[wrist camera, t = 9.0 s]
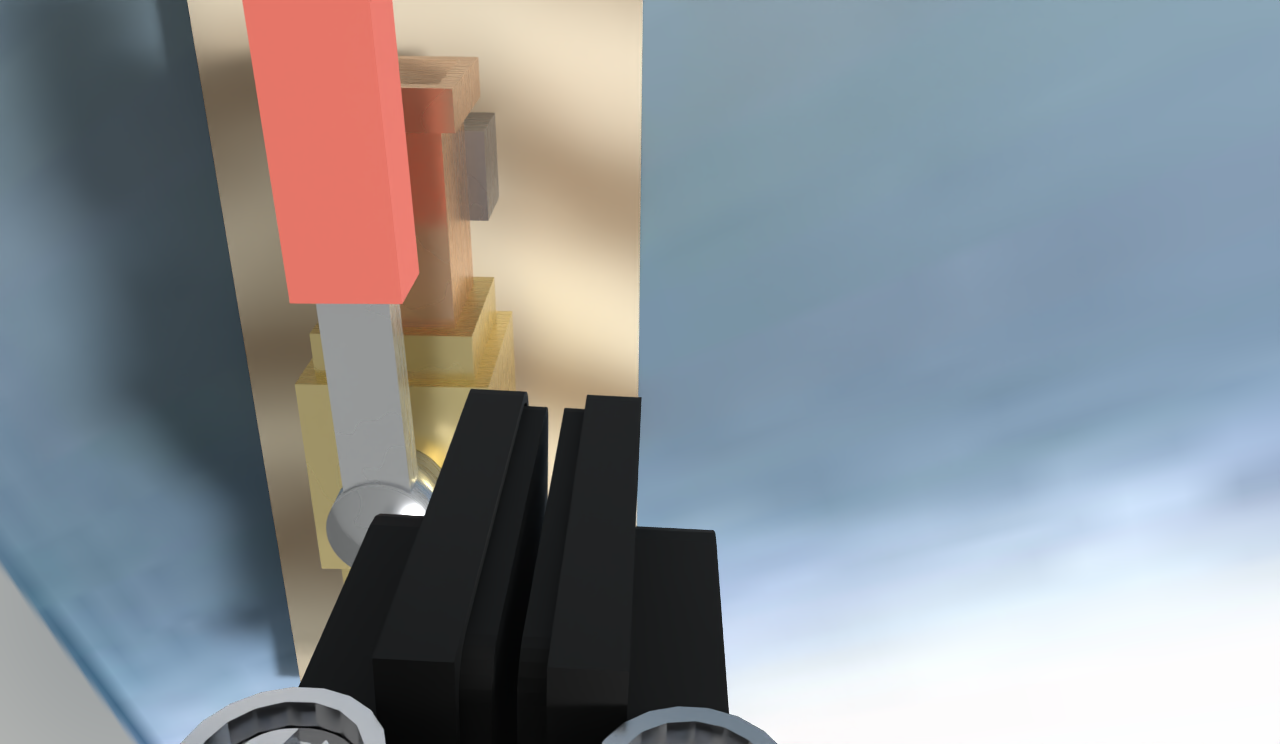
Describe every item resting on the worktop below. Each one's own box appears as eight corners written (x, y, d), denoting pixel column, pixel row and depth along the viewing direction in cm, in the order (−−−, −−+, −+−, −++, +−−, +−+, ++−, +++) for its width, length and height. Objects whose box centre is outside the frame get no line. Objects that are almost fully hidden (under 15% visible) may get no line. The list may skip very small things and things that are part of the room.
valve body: (531, 635, 38) (510, 767, 33) (394, 632, 38) (350, 763, 33) (506, 45, 29) (470, 93, 24) (327, 42, 29) (251, 90, 24)
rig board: (634, 679, 40) (634, 702, 39) (312, 672, 40) (302, 695, 39) (643, -78, 29) (642, -75, 28) (191, -84, 29) (173, -81, 28)
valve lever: (453, 531, 28) (436, 585, 26) (354, 530, 28) (329, 584, 26) (399, -28, 22) (373, -14, 20) (274, -28, 22) (234, -14, 20)
